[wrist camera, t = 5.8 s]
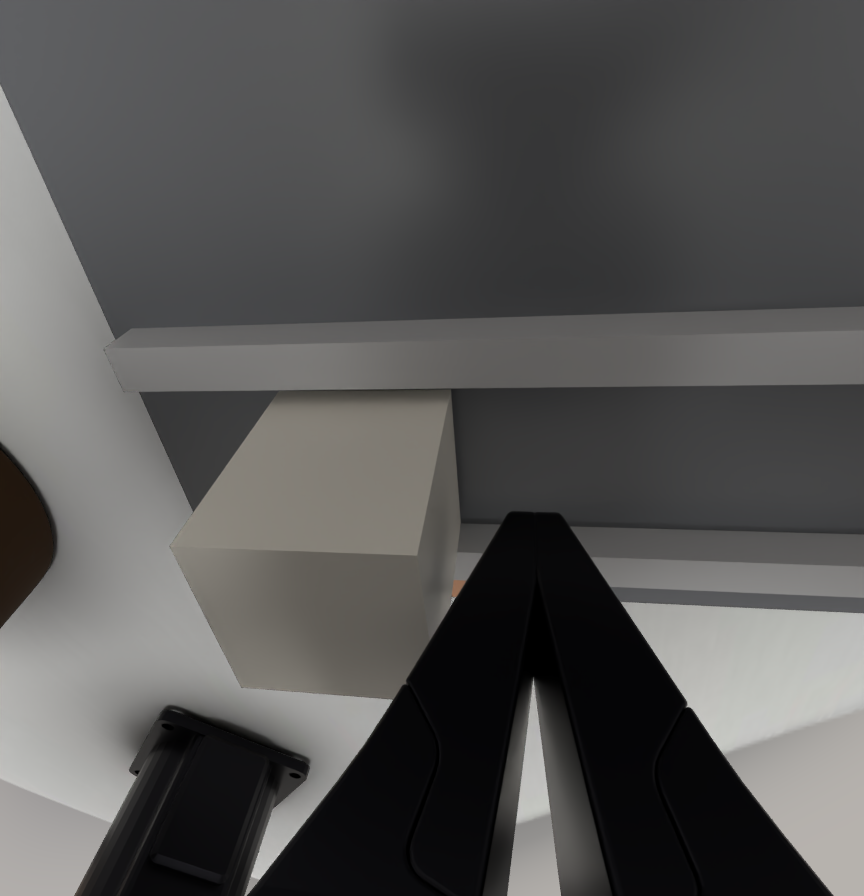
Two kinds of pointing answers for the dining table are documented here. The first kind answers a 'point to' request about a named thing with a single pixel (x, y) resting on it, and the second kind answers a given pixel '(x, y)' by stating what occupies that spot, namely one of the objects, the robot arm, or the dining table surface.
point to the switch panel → (494, 252)
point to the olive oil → (20, 539)
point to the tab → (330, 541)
